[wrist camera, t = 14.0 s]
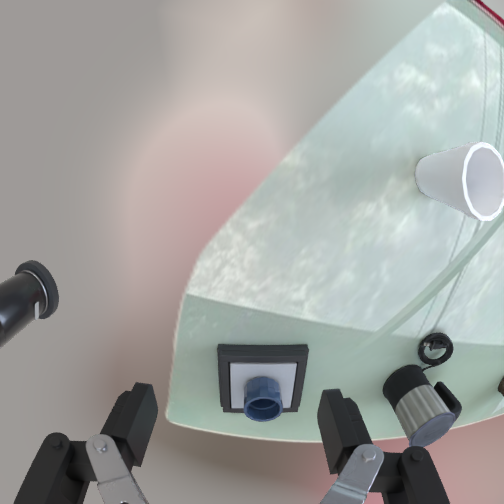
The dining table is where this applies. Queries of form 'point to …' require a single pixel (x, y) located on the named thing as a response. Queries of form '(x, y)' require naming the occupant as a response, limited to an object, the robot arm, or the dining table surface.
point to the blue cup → (262, 399)
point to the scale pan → (252, 370)
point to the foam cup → (465, 179)
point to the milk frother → (423, 397)
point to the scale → (261, 355)
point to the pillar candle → (501, 387)
